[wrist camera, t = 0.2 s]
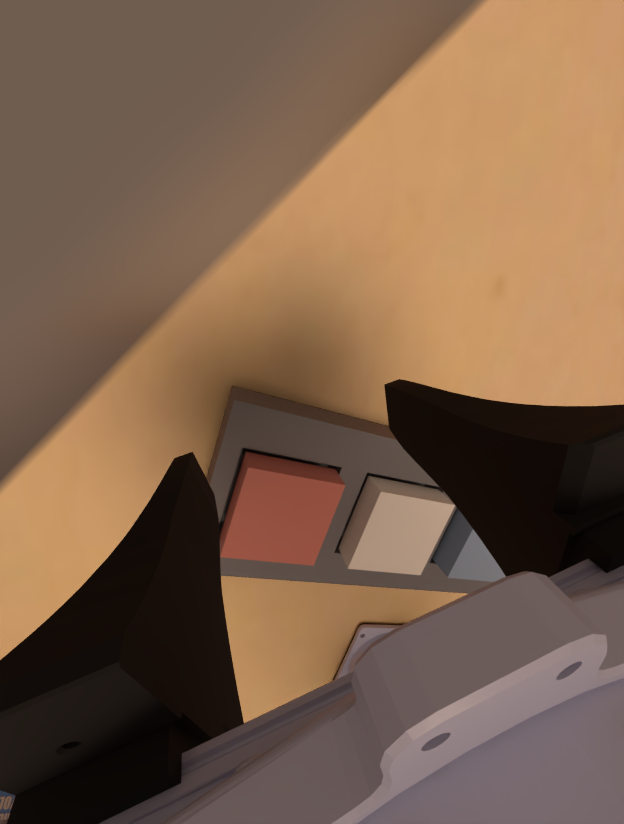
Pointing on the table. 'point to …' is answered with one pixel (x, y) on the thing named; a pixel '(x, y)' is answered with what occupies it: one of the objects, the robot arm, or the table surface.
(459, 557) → the blue key
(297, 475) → the red key
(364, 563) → the white key
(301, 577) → the key panel
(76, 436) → the table surface
